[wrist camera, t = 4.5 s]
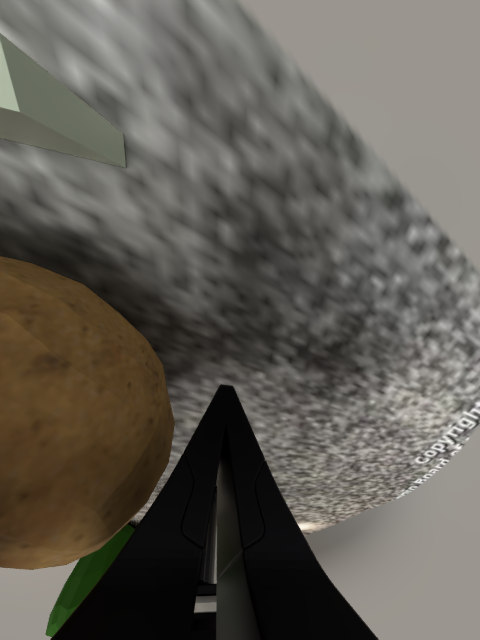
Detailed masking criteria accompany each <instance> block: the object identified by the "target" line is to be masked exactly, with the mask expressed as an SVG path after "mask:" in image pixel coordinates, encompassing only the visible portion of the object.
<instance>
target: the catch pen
mask: <svg viewBox="0 0 480 640" xmlns="http://www.w3.org/2000/svg"><path fill="white" fill-rule="evenodd" d="M0 138H2V139H6V140H11V141H15V142H19V143H23V144H27V145H32V146H36V147H40V148H44V149H48V150H53V151H57V152H61V153H65V154H69V155H74V156H78V157H82V158H86V159H90V160H95V161H99V162H103V163H107V164H112V165H116V166H120V167H124V168H126V161H125V149H124V137H123V133H121V132H120V131H119V130H118V129H117V128H115V127H114V126H113V125H112V124H110V123H109V122H108V121H107V120H106V119H104V118H103V117H102V116H101V115H99V114H98V113H97V112H96V111H95V110H93V109H92V108H91V107H90V106H89V105H87V104H86V103H85V102H84V101H82V100H81V99H80V98H79V97H78V96H76V95H75V94H74V93H73V92H71V91H70V90H69V89H68V88H67V87H65V86H64V85H63V84H62V83H60V82H59V81H58V80H57V79H56V78H54V77H53V76H52V75H51V74H50V73H48V72H47V71H46V70H45V69H43V68H42V67H41V66H40V65H39V64H37V63H36V62H35V61H34V60H32V59H31V58H30V57H29V56H28V55H26V54H25V53H24V52H23V51H22V50H20V49H19V48H18V47H17V46H15V45H14V44H13V43H12V42H11V41H9V40H8V39H7V38H6V37H4V36H3V35H2V34H1V33H0Z"/></svg>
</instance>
